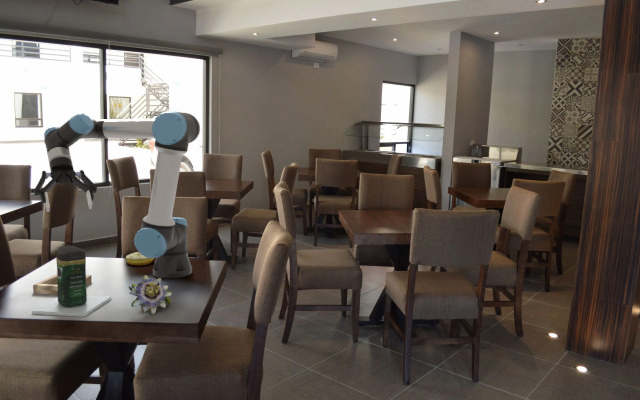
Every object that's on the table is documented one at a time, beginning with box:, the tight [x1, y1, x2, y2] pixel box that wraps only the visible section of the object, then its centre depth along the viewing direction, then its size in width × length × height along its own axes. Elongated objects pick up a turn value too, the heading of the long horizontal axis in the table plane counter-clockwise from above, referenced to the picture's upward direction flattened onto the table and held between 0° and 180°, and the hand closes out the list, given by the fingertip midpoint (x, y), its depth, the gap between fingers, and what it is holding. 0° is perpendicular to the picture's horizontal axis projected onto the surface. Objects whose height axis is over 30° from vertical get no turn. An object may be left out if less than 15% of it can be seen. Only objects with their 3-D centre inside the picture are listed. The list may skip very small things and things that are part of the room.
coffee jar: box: [55, 245, 87, 307], centre depth 167 cm, size 10×8×19 cm
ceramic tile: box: [31, 295, 112, 318], centre depth 168 cm, size 17×17×1 cm
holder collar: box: [32, 273, 92, 296], centre depth 187 cm, size 13×15×3 cm
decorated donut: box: [125, 251, 154, 266], centre depth 225 cm, size 11×12×4 cm
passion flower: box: [128, 274, 172, 316], centre depth 167 cm, size 13×12×14 cm
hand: (70, 208), depth 181 cm, fingers open, 13 cm apart
